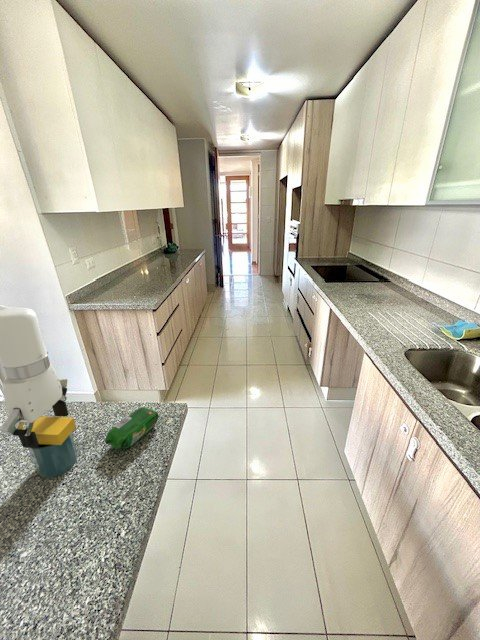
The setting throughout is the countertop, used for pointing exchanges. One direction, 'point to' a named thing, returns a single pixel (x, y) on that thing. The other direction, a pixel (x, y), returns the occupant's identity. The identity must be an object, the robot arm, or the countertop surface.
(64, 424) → the yellow flat block
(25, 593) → the countertop surface
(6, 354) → the robot arm
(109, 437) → the snack package
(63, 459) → the cup
